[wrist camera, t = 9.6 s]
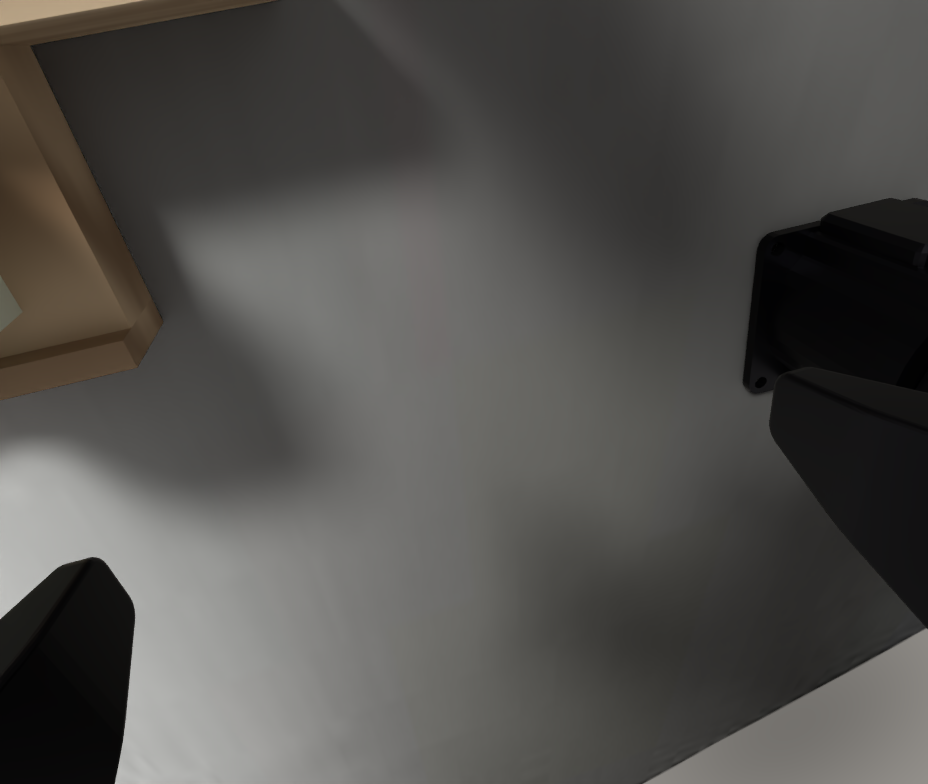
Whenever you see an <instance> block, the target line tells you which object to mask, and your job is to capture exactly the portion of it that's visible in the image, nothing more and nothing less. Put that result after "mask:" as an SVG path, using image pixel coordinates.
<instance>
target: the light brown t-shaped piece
mask: <svg viewBox="0 0 928 784" xmlns="http://www.w3.org/2000/svg"><path fill="white" fill-rule="evenodd" d="M272 1H277V0H0V276H1V277H2V279H3V281H4V282H5V284H6V286H7V287H8V289H9V290H10V292H11V294H12V295H13V297H14V299H15V300H16V302H17V303H18V305H19V307H20V308H21V310H22V311H23V312H22V313H21V314H20V315H19V316H18V317H17V318H15V319H14V320H13V321H12V322H11V323H10V324H9V325H7V326H6V327H5V328H4V329H3V330H2V331H1V332H0V400H4V399H8V398H12V397H16V396H21V395H25V394H29V393H33V392H37V391H42V390H46V389H50V388H54V387H59V386H63V385H67V384H71V383H75V382H80V381H84V380H88V379H92V378H96V377H101V376H105V375H109V374H113V373H117V372H122V371H126V370H130V369H134V368H137V367H138V366H139V364H140V362H141V360H142V359H143V357H144V355H145V353H146V352H147V350H148V348H149V346H150V345H151V343H152V341H153V340H154V338H155V336H156V334H157V333H158V331H159V329H160V327H161V326H162V324H163V321H162V319H161V316H160V314H159V312H158V310H157V308H156V306H155V304H154V302H153V300H152V298H151V296H150V294H149V292H148V289H147V287H146V285H145V283H144V281H143V279H142V277H141V275H140V273H139V271H138V269H137V267H136V265H135V262H134V260H133V258H132V256H131V254H130V252H129V250H128V248H127V246H126V244H125V242H124V240H123V238H122V235H121V233H120V231H119V229H118V227H117V225H116V223H115V221H114V219H113V217H112V215H111V213H110V211H109V208H108V206H107V204H106V202H105V200H104V198H103V196H102V194H101V192H100V190H99V188H98V186H97V184H96V181H95V179H94V177H93V175H92V173H91V171H90V169H89V167H88V165H87V163H86V161H85V159H84V157H83V154H82V152H81V150H80V148H79V146H78V144H77V142H76V140H75V138H74V136H73V134H72V132H71V130H70V127H69V125H68V123H67V121H66V119H65V117H64V115H63V113H62V111H61V109H60V107H59V105H58V103H57V100H56V98H55V96H54V94H53V92H52V90H51V88H50V86H49V84H48V82H47V80H46V78H45V76H44V74H43V71H42V69H41V67H40V65H39V63H38V61H37V59H36V57H35V55H34V53H33V51H32V49H31V47H30V45H36V44H41V43H47V42H52V41H58V40H63V39H69V38H74V37H79V36H85V35H90V34H96V33H101V32H107V31H112V30H118V29H123V28H129V27H134V26H140V25H145V24H151V23H156V22H162V21H167V20H173V19H178V18H184V17H189V16H195V15H200V14H206V13H211V12H217V11H222V10H228V9H233V8H239V7H244V6H250V5H255V4H261V3H266V2H272Z"/></svg>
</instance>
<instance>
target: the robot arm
mask: <svg viewBox="0 0 928 784" xmlns="http://www.w3.org/2000/svg"><path fill="white" fill-rule="evenodd" d="M776 243H777V246H776V248H775V250H774V251H773V252H771V250H772V247H773V246H774V245H775V244H776ZM758 379H759V380H758ZM757 380H758V381H757ZM756 381H757V382H756ZM743 385H744V386H745V387H746V388H747V389H748V390H750V391H751V392H753V393H762V392H765V391H769V390H773V389H774V392H773V399H772V406H771V413H770V420H769V426H770V432H771V435H772V437H773V439H774V441H775V442H776V444H777V445H778V446H779V448H780V449H781V450H782V452H783V453H784V455H785V456H786V457H787V459H788V460H789V461H790V463H791V464H792V466H793V467H794V468H795V470H796V471H797V473H798V474H799V475H800V477H801V478H802V479H803V481H804V482H805V484H806V485H807V486H808V488H809V489H810V491H811V492H812V493H813V495H814V496H815V497H816V499H817V500H818V502H819V503H820V504H821V506H822V507H823V508H824V510H825V511H826V513H827V514H828V515H829V517H830V518H831V519H832V520H833V522H834V523H835V524H836V526H837V527H838V528H839V529H840V531H841V532H842V533H843V534H844V535H845V536H846V538H847V539H848V540H849V541H850V542H851V544H852V545H853V546H854V547H855V548H856V549H857V550H858V551H859V553H860V554H861V555H862V556H863V557H864V558H865V559H866V560H867V562H868V563H869V564H870V565H871V566H872V567H873V568H874V569H875V571H876V572H877V573H878V574H879V575H880V576H881V577H882V578H883V580H884V581H885V582H886V583H887V584H888V585H889V586H890V587H891V589H892V590H893V591H894V592H895V593H896V594H897V595H898V596H899V598H900V599H901V600H902V601H903V602H904V603H905V604H906V605H907V607H908V608H909V609H910V610H911V611H912V612H913V613H914V614H915V616H916V617H917V618H918V619H919V620H920V621H921V622H922V623H923V625H924V626H925V627H926V628H927V629H928V201H926V200H922V199H918V198H912V199H908V200H903V201H901V200H897V199H893V198H888V199H884V200H880V201H875V202H871V203H867V204H863V205H859V206H854V207H850V208H846V209H842V210H838V211H834V212H830V213H828V214H827V215H825V216H824V217H822V218H821V220H820V221H816V222H812V223H808V224H804V225H799V226H795V227H791V228H787V229H783V230H779V231H775V232H771V233H769V234H767V235H766V236H765V237H763V238H762V240H761V241H760V243H759V246H758V249H757V258H756V267H755V276H754V286H753V295H752V304H751V313H750V322H749V331H748V340H747V349H746V359H745V368H744V377H743ZM134 625H135V609H134V605H133V602H132V600H131V598H130V596H129V595H128V593H127V592H126V591H125V589H124V588H123V586H122V585H121V584H120V582H119V581H118V579H117V578H116V577H115V575H114V574H113V572H112V571H111V570H110V568H109V567H108V565H107V564H106V563H105V562H104V561H103V560H101V559H100V558H96V557H90V558H86V559H83V560H79V561H75V562H71V563H68V564H65V565H62V566H60V567H58V568H57V569H56V570H54V571H53V572H52V573H51V574H50V575H49V576H48V577H47V578H46V579H44V580H43V581H42V582H41V583H40V584H39V585H38V586H37V587H36V588H34V589H33V590H32V591H31V592H30V593H29V594H28V595H27V596H26V597H24V598H23V599H22V600H21V601H20V602H19V603H18V604H17V605H16V606H14V607H13V608H12V609H11V610H10V611H9V612H8V613H7V614H6V615H4V616H3V617H2V618H1V619H0V784H115V779H116V774H117V769H118V765H119V759H120V754H121V748H122V743H123V736H124V728H125V720H126V710H127V699H128V689H129V678H130V668H131V657H132V647H133V636H134Z"/></svg>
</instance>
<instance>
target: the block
mask: <svg viewBox="0 0 928 784" xmlns="http://www.w3.org/2000/svg"><path fill="white" fill-rule="evenodd" d="M22 312H23V311H22V310H21V308H20V307H19V305H18V303H17V302H16V300H15V299H14V297H13V295H12V294H11V292H10V290H9V289H8V287H7V286H6V284H5V282H4V281H3V279H2V277H1V276H0V332H1V331H2V330H3V329H4V328H5V327H6V326H7V325H9V324H10V323H11V322H12V321H13V320H14V319H15V318H17V317H18V316H19V315H20V314H21V313H22Z"/></svg>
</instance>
